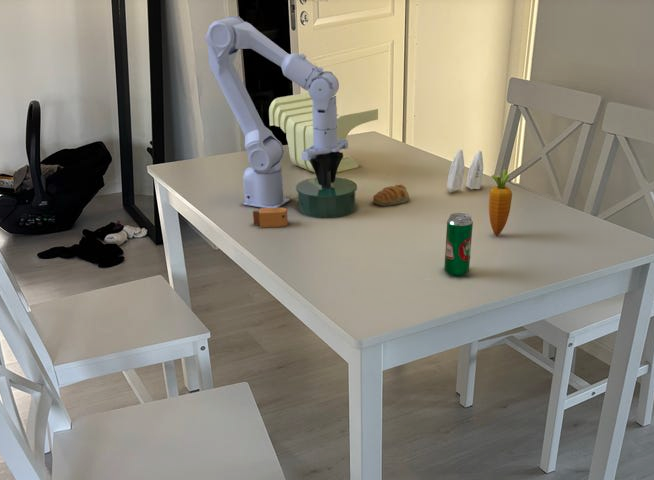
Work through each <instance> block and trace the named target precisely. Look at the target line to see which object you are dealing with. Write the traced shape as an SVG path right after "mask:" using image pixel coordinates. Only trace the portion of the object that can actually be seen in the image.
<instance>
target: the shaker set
mask: <svg viewBox="0 0 654 480" xmlns="http://www.w3.org/2000/svg"><path fill="white" fill-rule="evenodd" d="M465 168H466V167H465V158H464V151H463V149H459V150H458V151H457V152H456V154H455V155H454V158H453V160H452V161H451V164H450V166H449V171H448V175H447V182H446V189H447V190H448V192H449V193H454V192H458V191H460V190H462V186H463V180H464V175H465ZM483 174H484V158H483V151H482V150H478V151H477V152H476V154H475V155H474V157H473V160H472V161H471V163H470V165H469V168H468V172H467V178H466V183H465V187H466V188H468V189H469V190H474V189H475V190H480V189H481V185H482V180H483Z"/></svg>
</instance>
